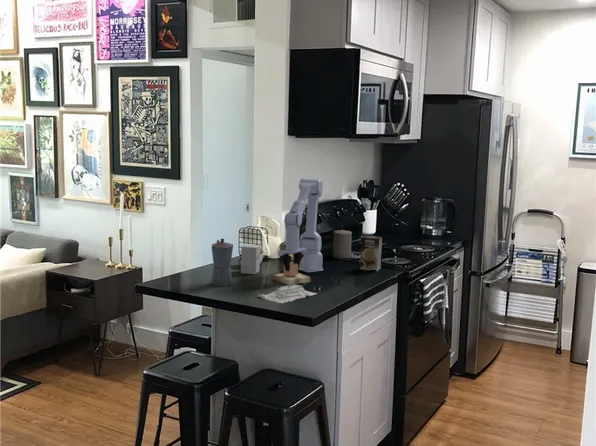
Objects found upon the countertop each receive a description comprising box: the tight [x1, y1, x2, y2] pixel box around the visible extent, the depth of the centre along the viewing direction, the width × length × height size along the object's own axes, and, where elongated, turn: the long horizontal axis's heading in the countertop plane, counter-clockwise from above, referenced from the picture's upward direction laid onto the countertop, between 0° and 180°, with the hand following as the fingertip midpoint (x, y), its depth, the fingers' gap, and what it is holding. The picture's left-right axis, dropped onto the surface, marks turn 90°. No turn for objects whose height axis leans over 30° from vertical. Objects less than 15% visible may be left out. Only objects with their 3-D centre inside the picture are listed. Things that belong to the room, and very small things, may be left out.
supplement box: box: [240, 244, 261, 275], centre depth 290 cm, size 7×7×13 cm
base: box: [272, 272, 311, 286], centre depth 277 cm, size 12×12×2 cm
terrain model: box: [257, 284, 319, 304], centre depth 251 cm, size 17×23×5 cm
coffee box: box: [359, 235, 383, 272], centre depth 303 cm, size 9×6×16 cm
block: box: [283, 261, 299, 276], centre depth 277 cm, size 4×4×5 cm
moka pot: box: [210, 238, 234, 287], centre depth 267 cm, size 10×15×20 cm, turn 27°
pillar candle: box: [332, 228, 353, 260], centre depth 331 cm, size 10×10×15 cm
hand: (291, 269), depth 276 cm, fingers closed on block, 4 cm apart
